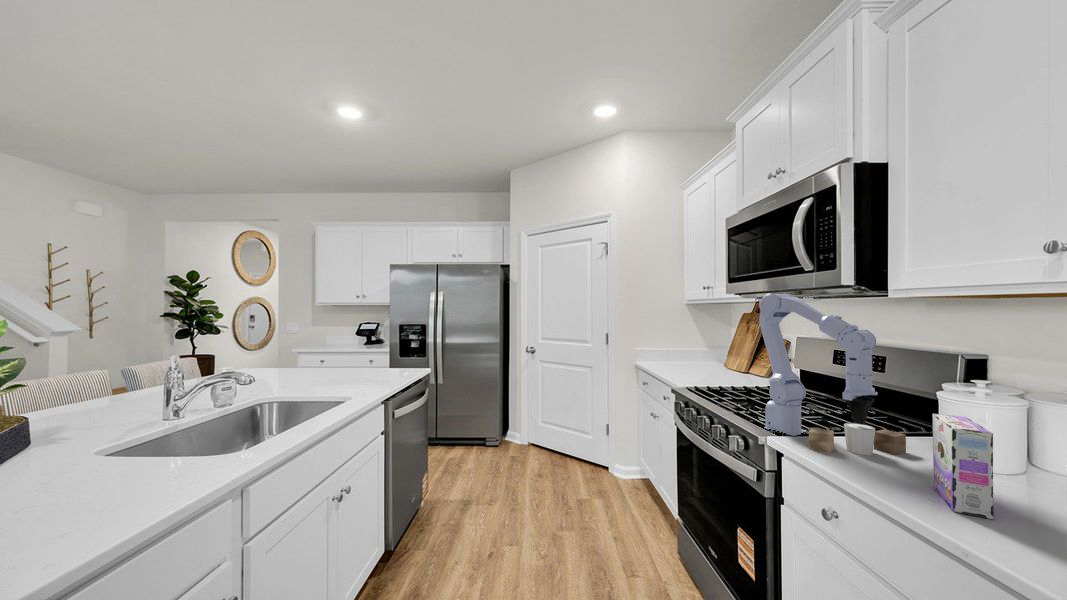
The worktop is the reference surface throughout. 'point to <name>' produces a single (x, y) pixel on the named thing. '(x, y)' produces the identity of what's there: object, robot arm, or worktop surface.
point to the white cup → (859, 438)
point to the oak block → (821, 440)
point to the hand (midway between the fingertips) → (859, 423)
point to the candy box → (963, 465)
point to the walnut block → (890, 442)
